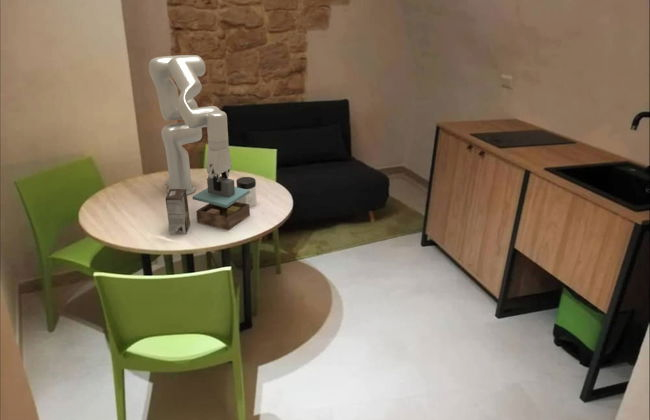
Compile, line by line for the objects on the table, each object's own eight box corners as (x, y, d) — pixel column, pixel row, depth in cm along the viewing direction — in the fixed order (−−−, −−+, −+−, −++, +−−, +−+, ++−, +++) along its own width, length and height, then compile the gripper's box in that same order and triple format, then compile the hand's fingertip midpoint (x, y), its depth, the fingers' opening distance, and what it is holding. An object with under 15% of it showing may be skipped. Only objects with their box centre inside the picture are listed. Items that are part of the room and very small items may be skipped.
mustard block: (227, 218, 199) (226, 209, 197) (233, 214, 202) (232, 205, 201) (235, 220, 197) (235, 211, 196) (241, 216, 201) (240, 207, 199)
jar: (241, 211, 208) (240, 185, 203) (233, 204, 214) (232, 179, 209) (260, 206, 212) (259, 181, 207) (252, 200, 218) (251, 175, 213)
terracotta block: (206, 221, 196) (205, 212, 195) (212, 217, 200) (211, 208, 198) (214, 223, 195) (213, 214, 193) (220, 219, 198) (219, 210, 196)
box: (197, 224, 195) (196, 210, 193) (220, 210, 208) (219, 197, 205) (228, 232, 190) (227, 218, 187) (249, 217, 202) (249, 204, 200)
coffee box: (174, 226, 194) (169, 188, 187) (190, 225, 194) (186, 188, 188) (169, 237, 185) (164, 198, 179) (186, 236, 186) (182, 197, 179)
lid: (192, 199, 191) (191, 182, 188) (217, 185, 204) (216, 169, 201) (226, 207, 185) (225, 190, 182) (249, 192, 198) (249, 176, 195)
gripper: (223, 136, 194) (225, 179, 202) (196, 148, 180) (200, 194, 188) (239, 139, 191) (241, 183, 199) (213, 151, 177) (216, 197, 185)
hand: (221, 187), depth 193 cm, fingers closed on lid, 4 cm apart
